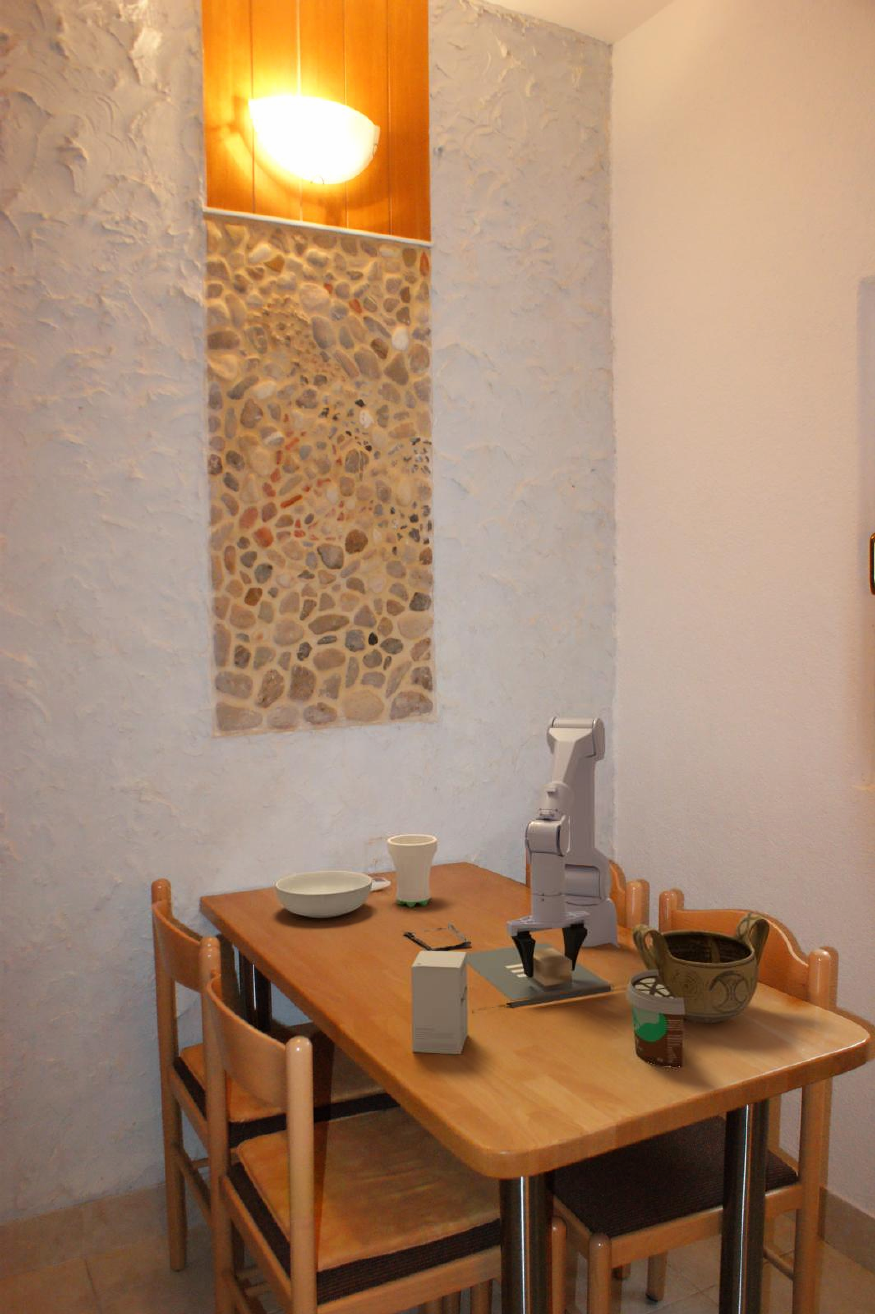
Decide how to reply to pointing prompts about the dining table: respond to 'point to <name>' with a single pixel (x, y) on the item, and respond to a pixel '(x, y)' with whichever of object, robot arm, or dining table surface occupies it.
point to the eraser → (551, 970)
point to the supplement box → (439, 1002)
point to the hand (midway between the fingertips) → (549, 972)
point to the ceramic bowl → (707, 966)
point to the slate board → (513, 983)
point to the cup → (412, 866)
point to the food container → (656, 1020)
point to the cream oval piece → (323, 892)
